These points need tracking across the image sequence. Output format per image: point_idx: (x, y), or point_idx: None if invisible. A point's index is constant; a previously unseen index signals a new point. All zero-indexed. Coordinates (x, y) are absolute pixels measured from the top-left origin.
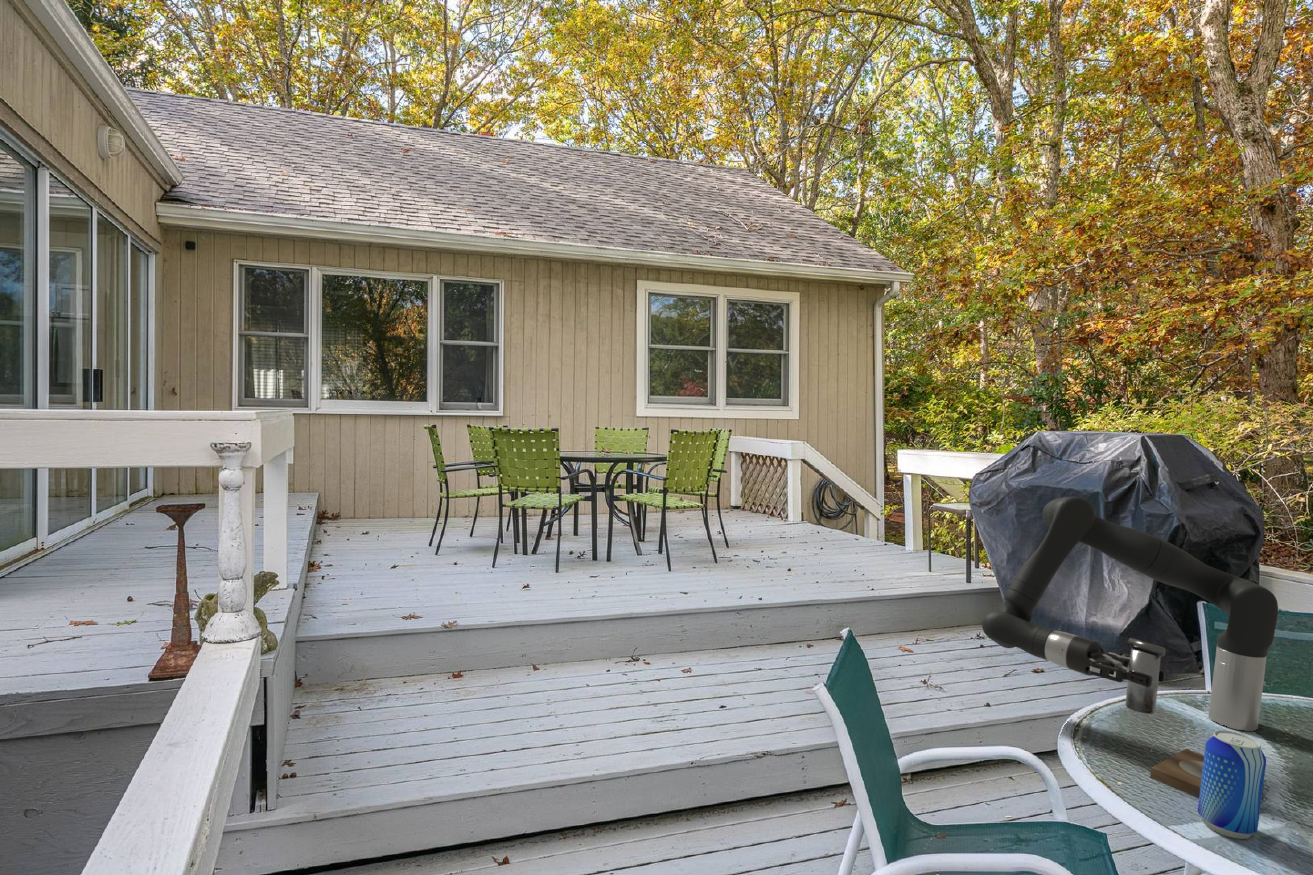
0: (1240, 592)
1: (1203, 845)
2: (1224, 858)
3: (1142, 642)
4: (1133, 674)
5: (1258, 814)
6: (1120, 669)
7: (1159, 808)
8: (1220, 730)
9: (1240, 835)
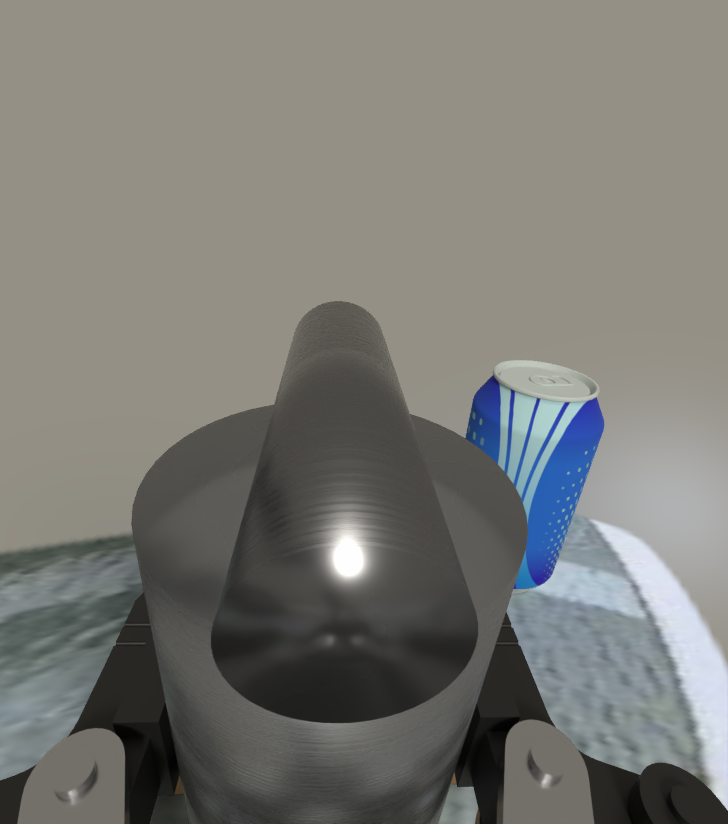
0: None
1: (612, 559)
2: (602, 531)
3: (381, 392)
4: (534, 686)
5: None
6: (692, 790)
7: (602, 663)
8: (545, 395)
9: None
